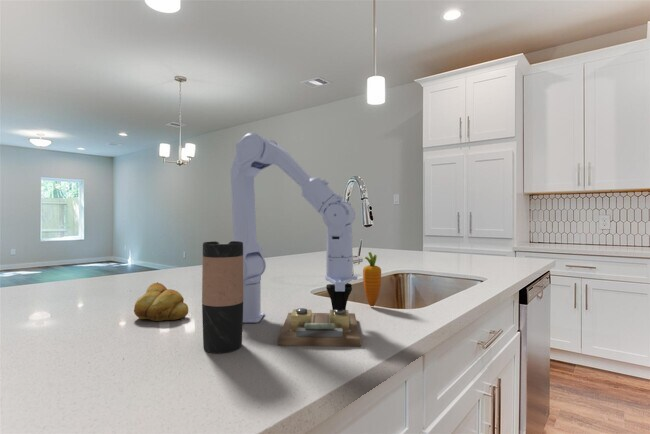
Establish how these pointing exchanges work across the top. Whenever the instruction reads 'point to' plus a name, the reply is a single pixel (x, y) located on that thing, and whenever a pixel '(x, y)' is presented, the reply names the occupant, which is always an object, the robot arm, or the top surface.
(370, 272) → the carrot
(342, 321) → the slide
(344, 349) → the top surface
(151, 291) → the bread roll
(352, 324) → the base
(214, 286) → the travel mug
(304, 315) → the slide
